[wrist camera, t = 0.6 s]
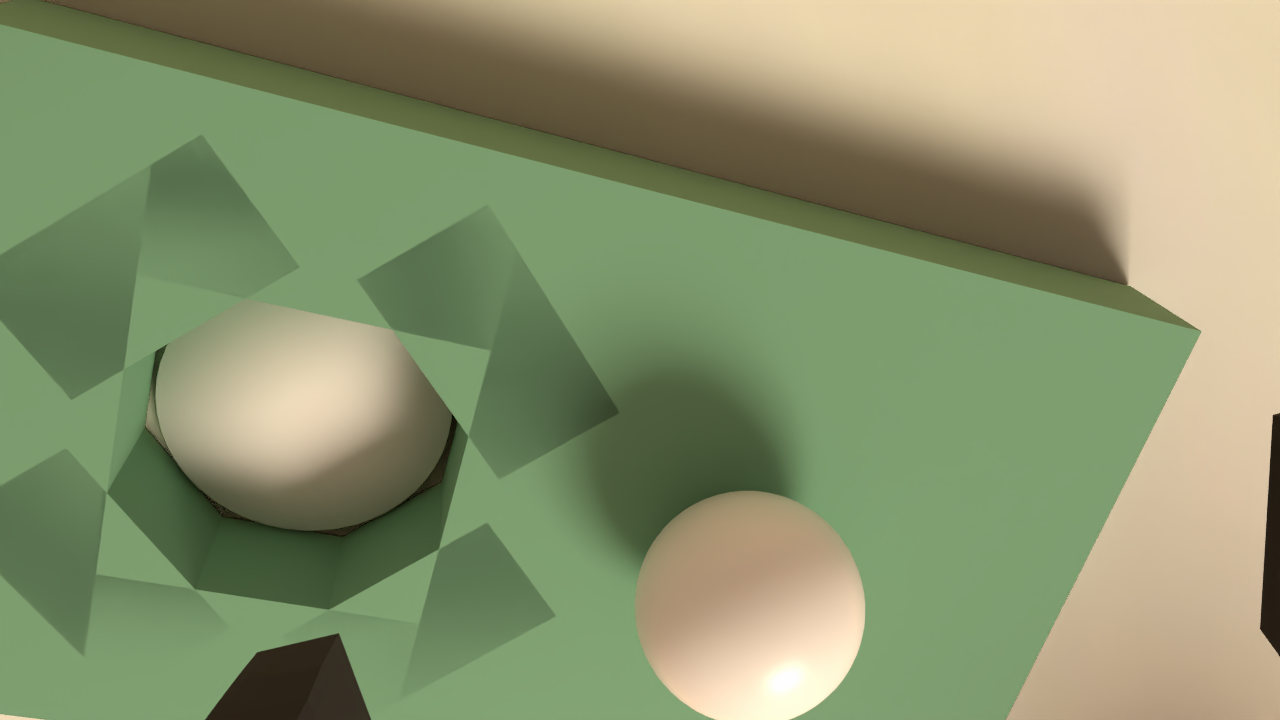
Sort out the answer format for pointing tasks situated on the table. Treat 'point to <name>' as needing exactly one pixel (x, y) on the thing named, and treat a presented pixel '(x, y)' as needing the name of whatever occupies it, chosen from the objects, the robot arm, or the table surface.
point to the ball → (749, 607)
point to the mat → (497, 399)
